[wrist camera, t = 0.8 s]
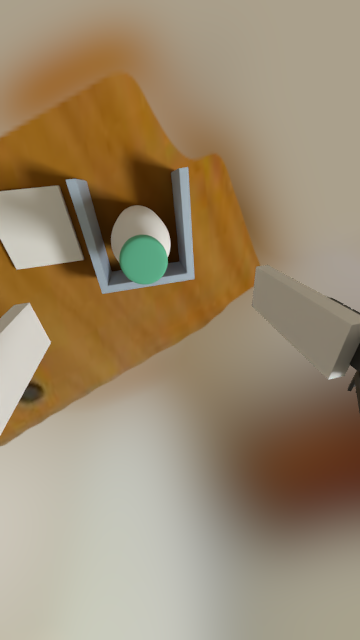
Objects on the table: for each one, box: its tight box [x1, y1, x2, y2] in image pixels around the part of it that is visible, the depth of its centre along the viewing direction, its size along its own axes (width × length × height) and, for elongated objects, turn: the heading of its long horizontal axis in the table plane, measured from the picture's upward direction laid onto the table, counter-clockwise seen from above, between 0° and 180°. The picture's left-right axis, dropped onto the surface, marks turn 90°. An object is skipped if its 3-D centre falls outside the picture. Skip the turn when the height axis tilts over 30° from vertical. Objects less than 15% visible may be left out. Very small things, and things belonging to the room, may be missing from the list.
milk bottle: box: [111, 205, 171, 285], centre depth 28 cm, size 8×8×20 cm
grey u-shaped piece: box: [66, 167, 195, 294], centre depth 33 cm, size 15×15×7 cm
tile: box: [0, 185, 84, 269], centre depth 33 cm, size 11×11×1 cm
